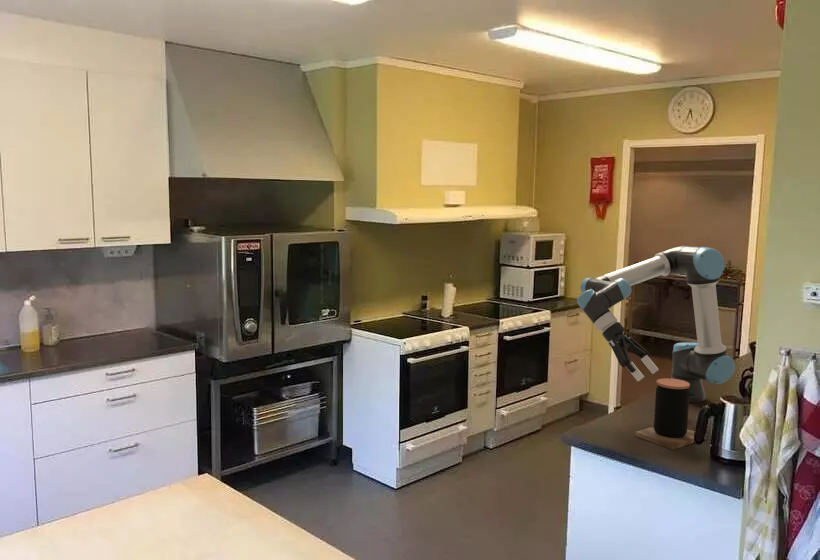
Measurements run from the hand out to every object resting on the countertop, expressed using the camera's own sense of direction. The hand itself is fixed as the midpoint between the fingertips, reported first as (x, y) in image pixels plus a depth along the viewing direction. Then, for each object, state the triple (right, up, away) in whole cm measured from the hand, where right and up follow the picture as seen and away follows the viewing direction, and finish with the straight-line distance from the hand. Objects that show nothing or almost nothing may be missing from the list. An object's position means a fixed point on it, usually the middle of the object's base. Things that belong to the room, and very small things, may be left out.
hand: (648, 375), depth 234 cm
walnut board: (+6, -21, -3) cm, 22 cm away
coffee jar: (+6, -20, -3) cm, 21 cm away
